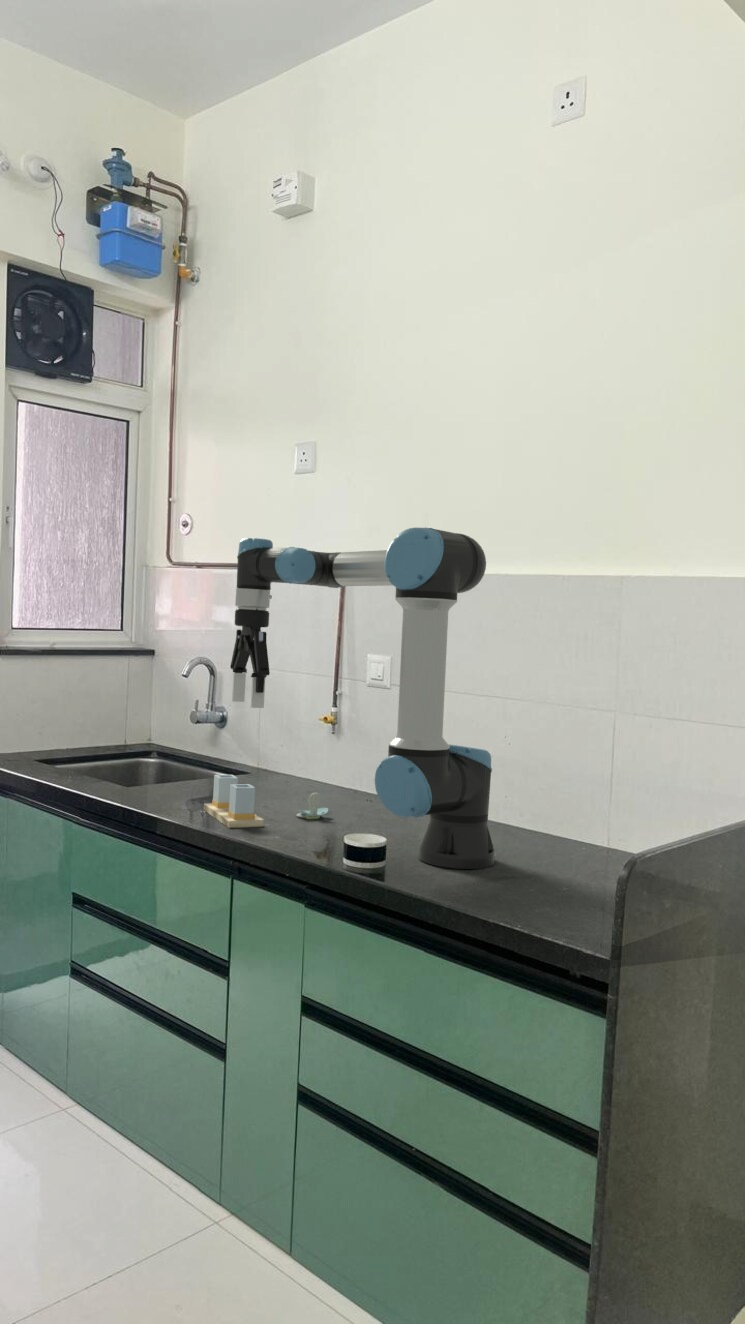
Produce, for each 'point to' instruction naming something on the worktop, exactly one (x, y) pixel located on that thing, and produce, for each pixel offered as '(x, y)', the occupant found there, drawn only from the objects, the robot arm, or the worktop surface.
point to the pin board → (223, 817)
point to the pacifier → (313, 808)
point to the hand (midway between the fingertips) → (247, 704)
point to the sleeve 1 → (222, 790)
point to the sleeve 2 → (241, 801)
